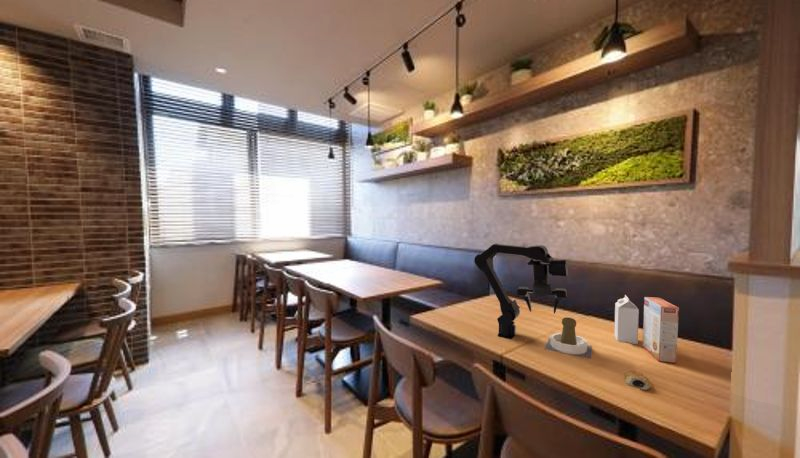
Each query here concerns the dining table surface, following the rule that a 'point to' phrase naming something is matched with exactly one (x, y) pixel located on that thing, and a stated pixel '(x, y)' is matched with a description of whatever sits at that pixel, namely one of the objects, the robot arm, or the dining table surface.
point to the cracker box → (660, 329)
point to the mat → (586, 355)
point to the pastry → (637, 380)
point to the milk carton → (626, 321)
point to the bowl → (566, 348)
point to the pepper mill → (568, 331)
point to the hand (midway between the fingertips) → (542, 312)
